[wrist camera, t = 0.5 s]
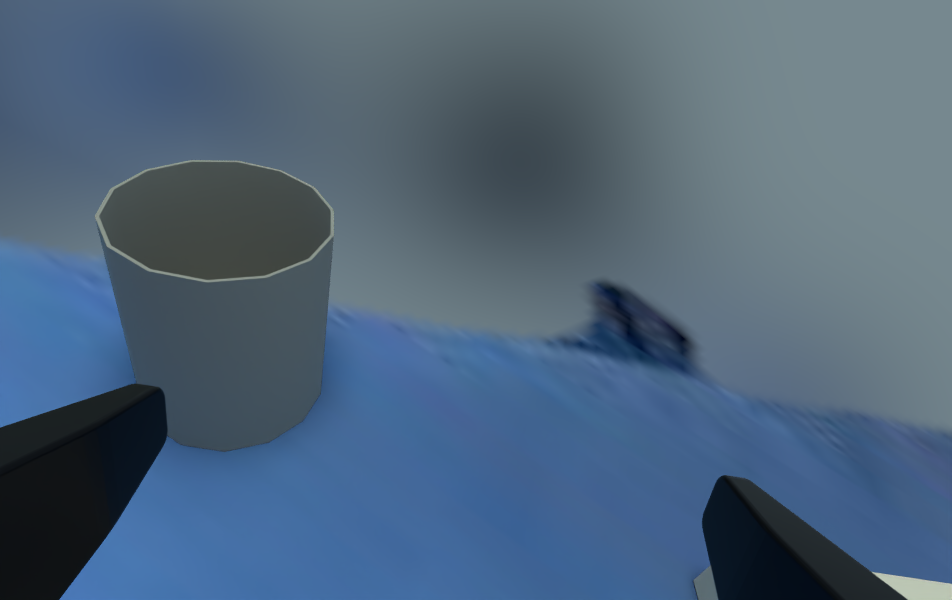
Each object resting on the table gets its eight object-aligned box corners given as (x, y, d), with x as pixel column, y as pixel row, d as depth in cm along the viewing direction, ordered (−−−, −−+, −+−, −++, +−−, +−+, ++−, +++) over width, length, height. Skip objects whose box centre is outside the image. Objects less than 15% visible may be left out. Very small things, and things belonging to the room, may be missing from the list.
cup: (349, 410, 28) (371, 254, 21) (171, 481, 23) (131, 307, 16) (283, 306, 32) (285, 151, 26) (122, 348, 27) (76, 170, 21)
